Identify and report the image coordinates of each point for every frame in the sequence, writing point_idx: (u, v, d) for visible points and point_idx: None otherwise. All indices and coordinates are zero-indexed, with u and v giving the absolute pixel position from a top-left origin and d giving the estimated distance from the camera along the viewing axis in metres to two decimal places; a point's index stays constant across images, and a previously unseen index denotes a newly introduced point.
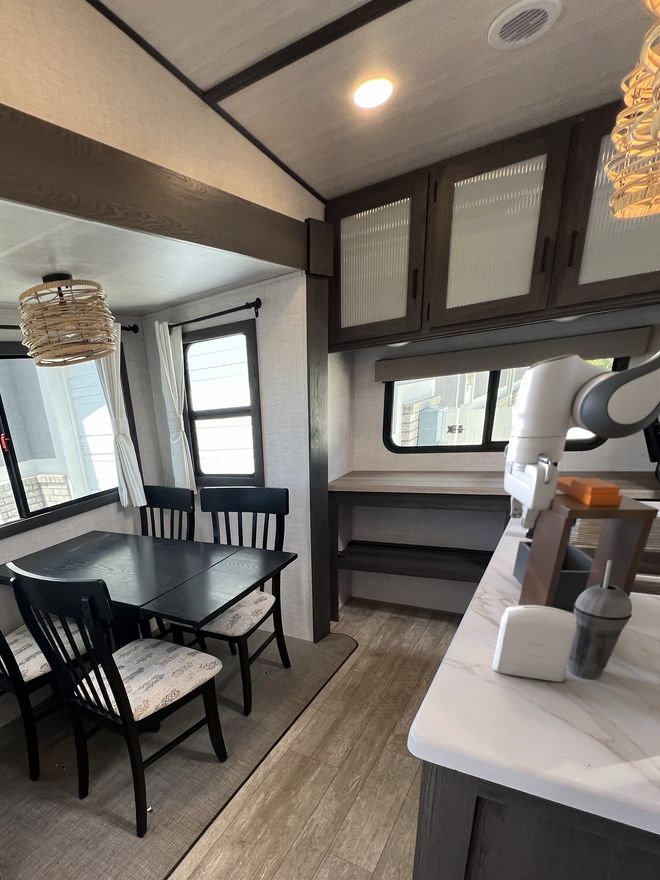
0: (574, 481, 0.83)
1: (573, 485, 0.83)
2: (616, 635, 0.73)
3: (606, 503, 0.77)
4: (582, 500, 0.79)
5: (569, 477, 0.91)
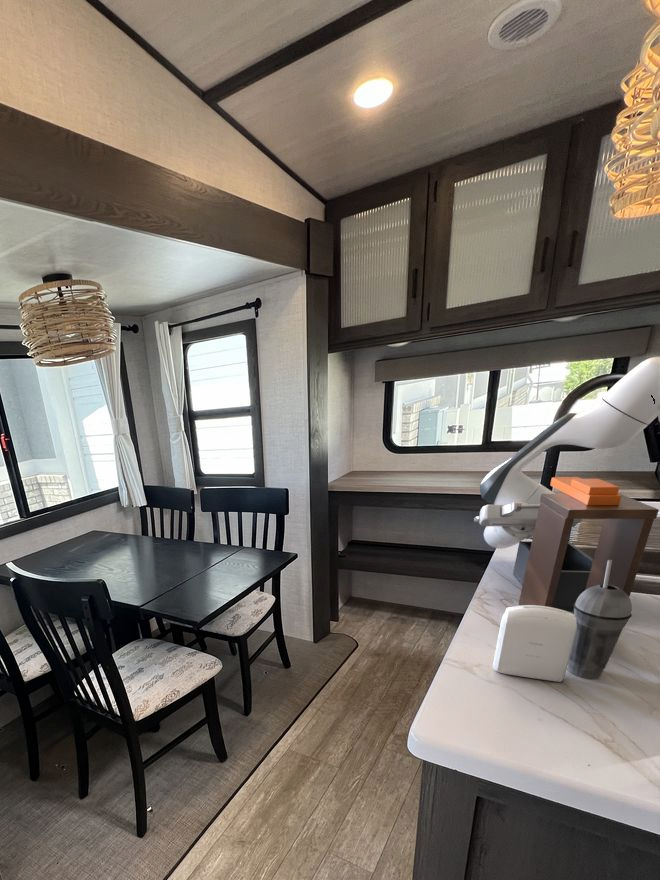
0: (574, 481, 0.83)
1: (573, 485, 0.83)
2: (616, 635, 0.73)
3: (605, 503, 0.77)
4: (581, 500, 0.80)
5: (570, 477, 0.91)
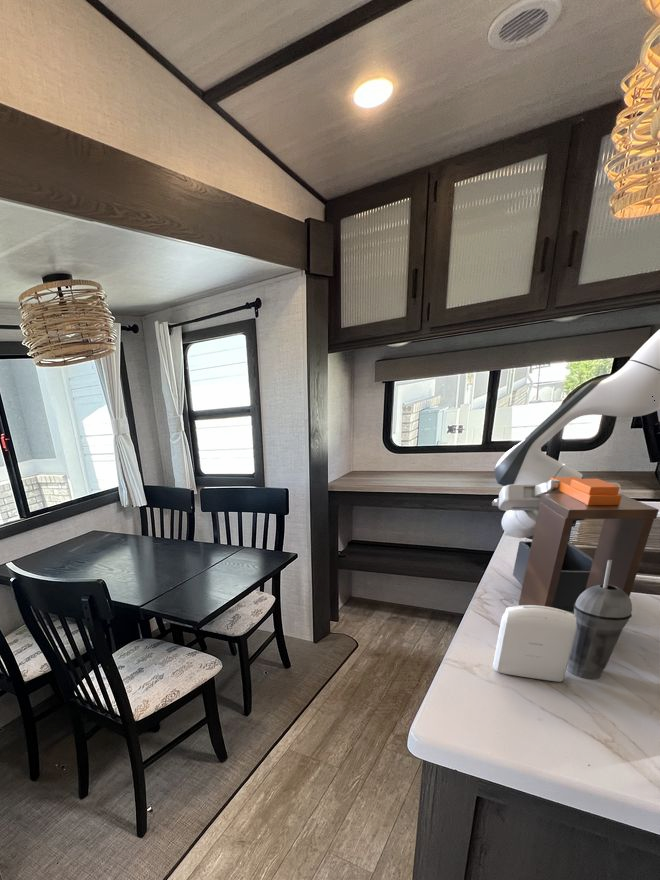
0: (574, 481, 0.83)
1: (573, 485, 0.83)
2: (616, 635, 0.73)
3: (605, 503, 0.77)
4: (581, 500, 0.79)
5: (569, 477, 0.91)
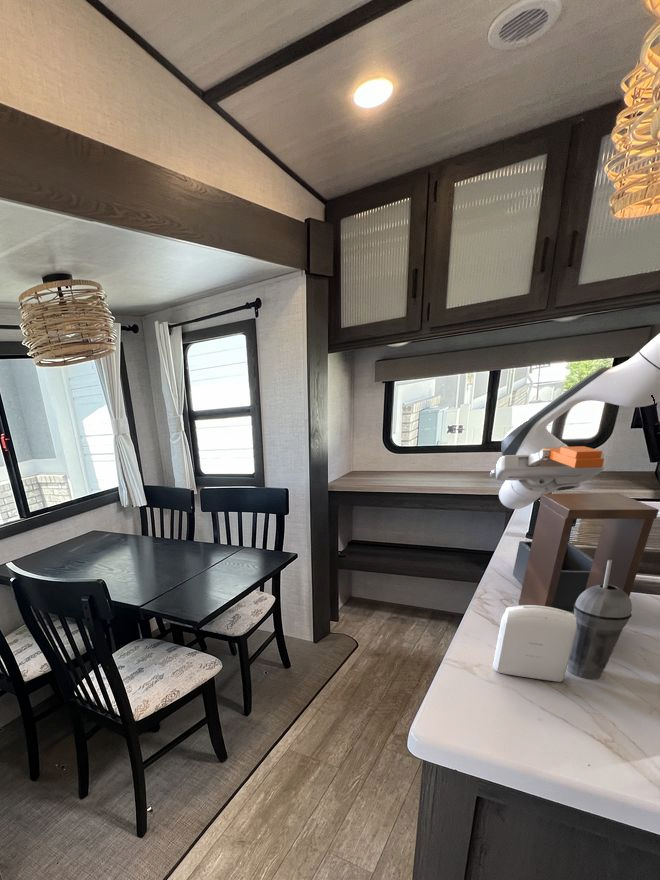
0: (562, 448, 0.93)
1: (561, 452, 0.93)
2: (616, 635, 0.73)
3: (589, 465, 0.86)
4: (569, 464, 0.89)
5: None
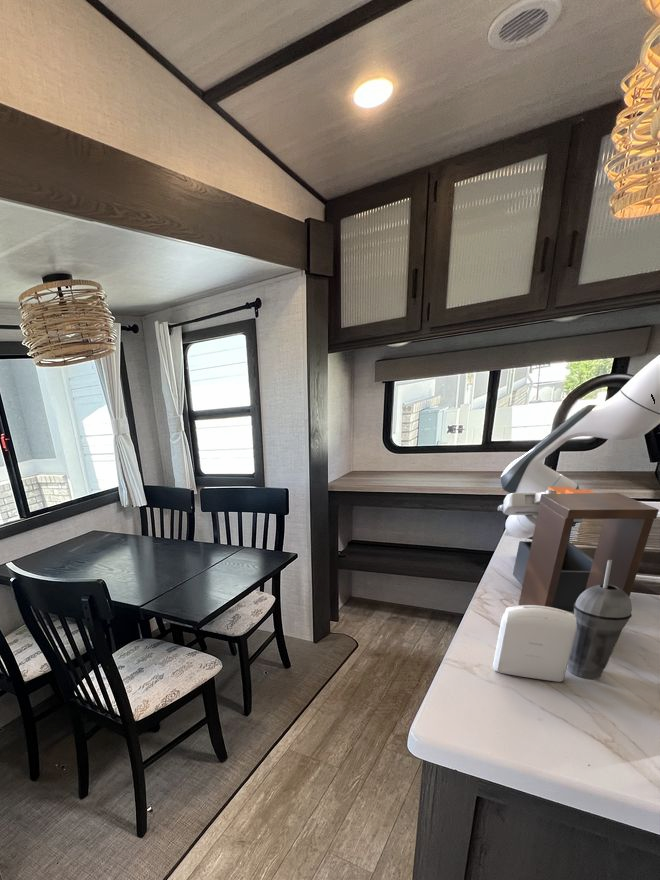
0: (567, 491, 0.98)
1: None
2: (616, 635, 0.73)
3: None
4: None
5: (564, 487, 1.06)
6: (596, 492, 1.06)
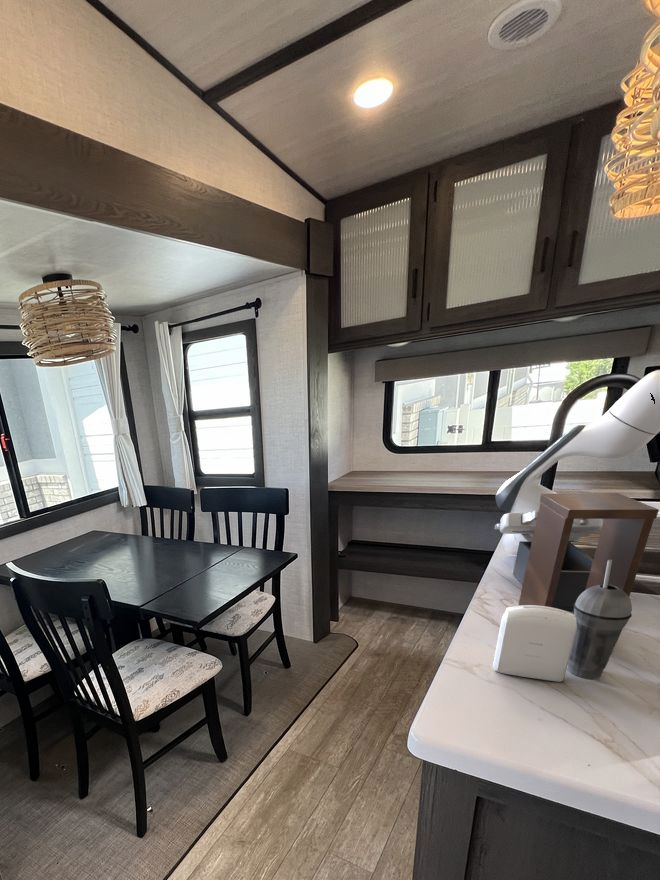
0: None
1: None
2: (616, 635, 0.73)
3: None
4: None
5: None
6: None
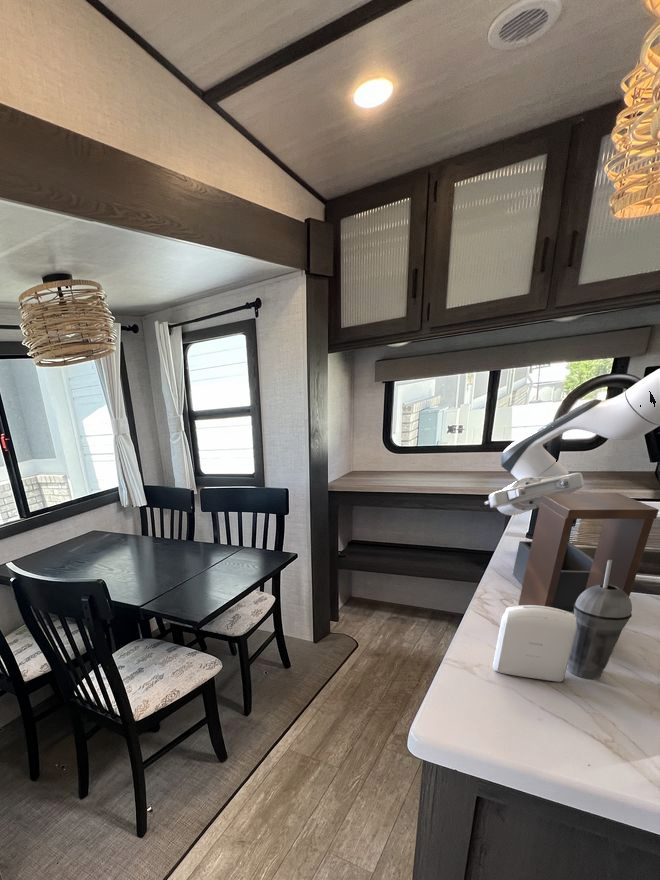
0: None
1: None
2: (616, 635, 0.73)
3: None
4: None
5: None
6: (571, 475, 1.15)
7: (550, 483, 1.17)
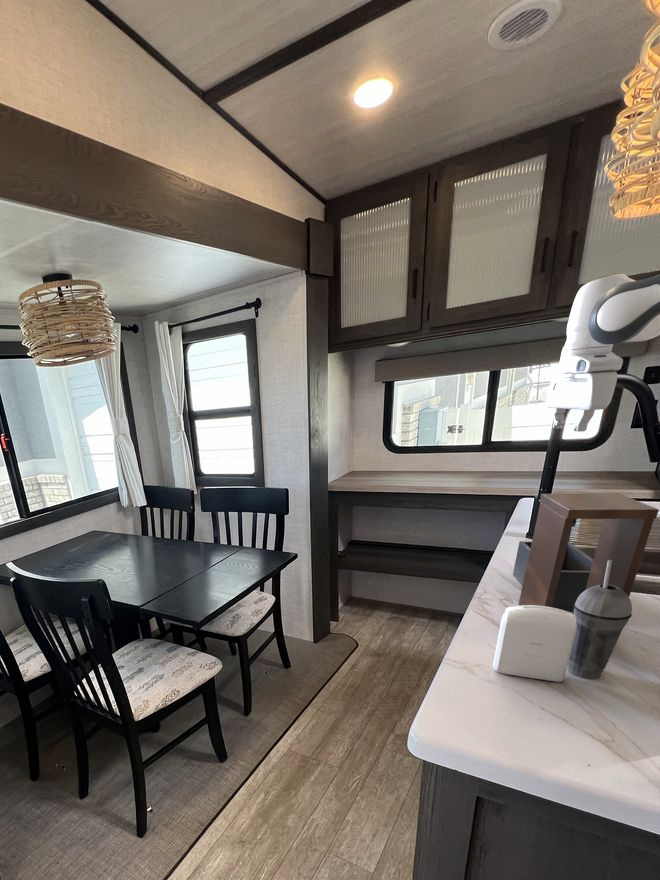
0: None
1: None
2: (616, 635, 0.73)
3: None
4: None
5: None
6: (584, 409, 1.01)
7: None
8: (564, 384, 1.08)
